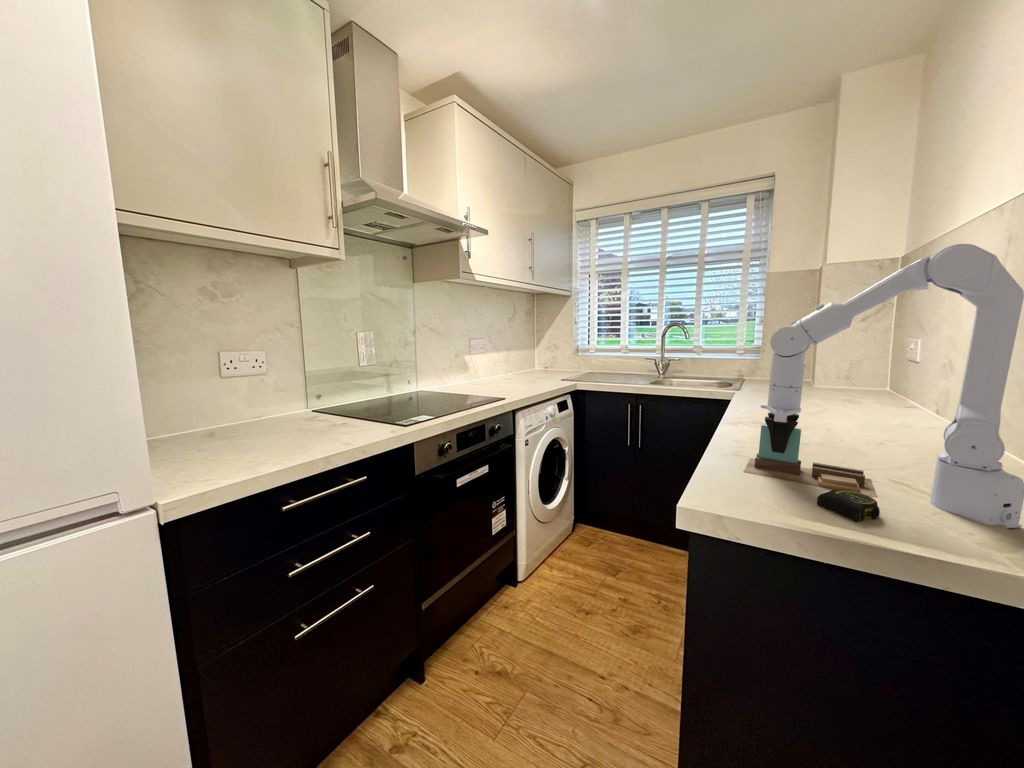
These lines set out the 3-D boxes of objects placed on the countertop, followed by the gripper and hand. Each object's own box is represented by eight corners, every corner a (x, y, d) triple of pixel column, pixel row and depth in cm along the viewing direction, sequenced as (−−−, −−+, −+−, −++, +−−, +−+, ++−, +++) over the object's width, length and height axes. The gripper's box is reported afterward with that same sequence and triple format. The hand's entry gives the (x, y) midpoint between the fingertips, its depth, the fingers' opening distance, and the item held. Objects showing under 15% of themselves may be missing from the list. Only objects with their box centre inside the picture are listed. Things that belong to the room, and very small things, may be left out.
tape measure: (813, 510, 70) (815, 489, 70) (845, 506, 72) (847, 486, 71) (853, 529, 63) (856, 507, 63) (888, 525, 65) (891, 503, 64)
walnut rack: (876, 502, 73) (878, 486, 72) (742, 476, 85) (744, 462, 85) (870, 483, 82) (872, 469, 81) (749, 462, 94) (750, 449, 94)
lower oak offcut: (858, 493, 75) (859, 488, 74) (818, 485, 78) (818, 481, 78) (857, 487, 77) (858, 483, 77) (817, 480, 81) (818, 476, 80)
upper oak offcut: (857, 487, 75) (857, 483, 75) (821, 481, 78) (822, 477, 78) (854, 483, 77) (855, 479, 77) (820, 477, 80) (820, 473, 80)
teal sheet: (796, 472, 85) (801, 430, 83) (757, 465, 89) (761, 425, 88) (796, 470, 86) (801, 429, 85) (758, 463, 90) (762, 424, 89)
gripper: (766, 380, 93) (760, 438, 95) (759, 388, 81) (753, 453, 83) (804, 383, 89) (797, 443, 91) (802, 391, 77) (795, 460, 79)
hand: (779, 449), depth 87 cm, fingers open, 5 cm apart
